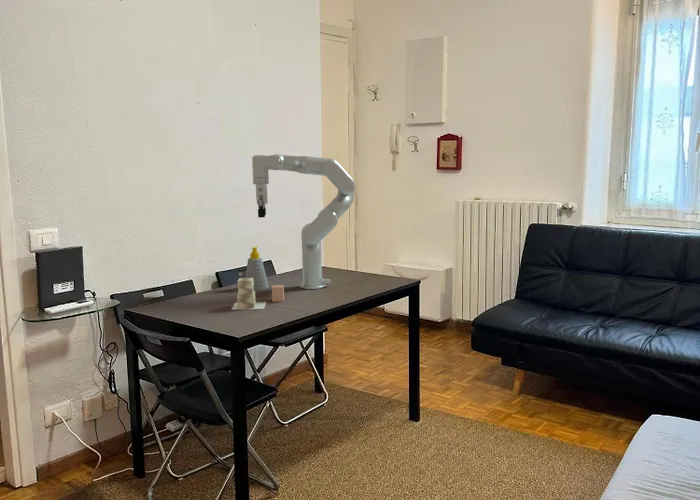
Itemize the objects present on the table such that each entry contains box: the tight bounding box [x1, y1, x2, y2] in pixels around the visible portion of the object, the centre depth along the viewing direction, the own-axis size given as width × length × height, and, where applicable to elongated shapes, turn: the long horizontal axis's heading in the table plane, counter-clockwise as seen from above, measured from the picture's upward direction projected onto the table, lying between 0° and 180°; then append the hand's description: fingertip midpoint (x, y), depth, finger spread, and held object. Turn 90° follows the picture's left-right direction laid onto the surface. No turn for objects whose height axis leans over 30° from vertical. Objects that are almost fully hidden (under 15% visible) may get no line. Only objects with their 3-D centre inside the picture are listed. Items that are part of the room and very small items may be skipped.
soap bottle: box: [244, 246, 269, 292], centre depth 317 cm, size 12×12×20 cm
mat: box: [231, 301, 267, 311], centre depth 281 cm, size 14×12×1 cm
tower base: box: [236, 291, 257, 308], centre depth 279 cm, size 7×7×6 cm
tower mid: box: [237, 277, 254, 295], centre depth 279 cm, size 6×6×6 cm
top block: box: [271, 284, 285, 303], centre depth 290 cm, size 5×5×7 cm
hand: (262, 216), depth 312 cm, fingers open, 9 cm apart
